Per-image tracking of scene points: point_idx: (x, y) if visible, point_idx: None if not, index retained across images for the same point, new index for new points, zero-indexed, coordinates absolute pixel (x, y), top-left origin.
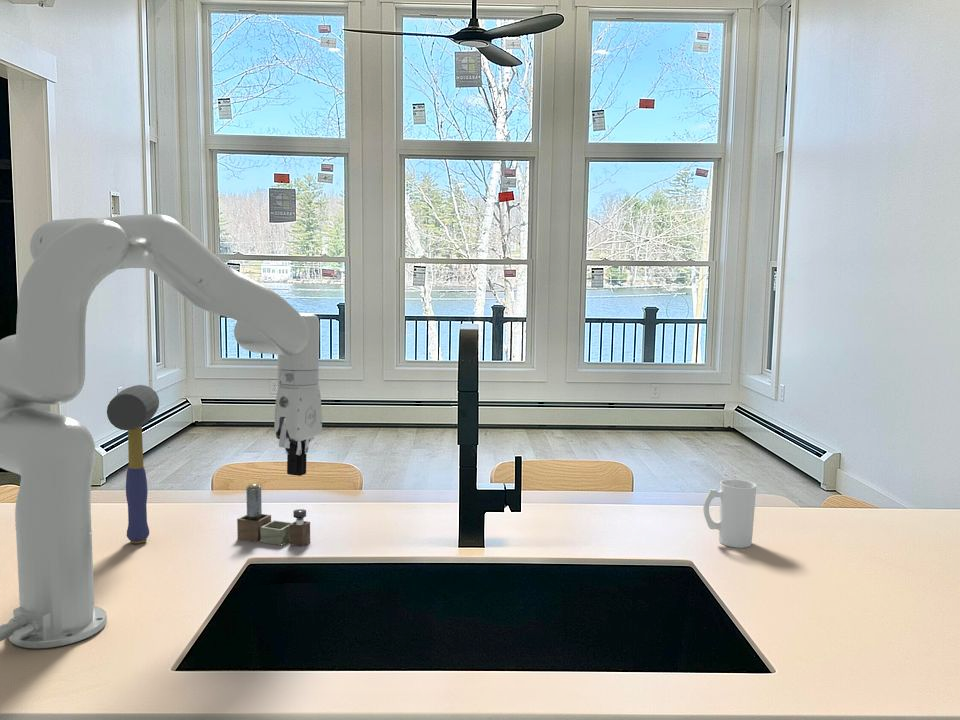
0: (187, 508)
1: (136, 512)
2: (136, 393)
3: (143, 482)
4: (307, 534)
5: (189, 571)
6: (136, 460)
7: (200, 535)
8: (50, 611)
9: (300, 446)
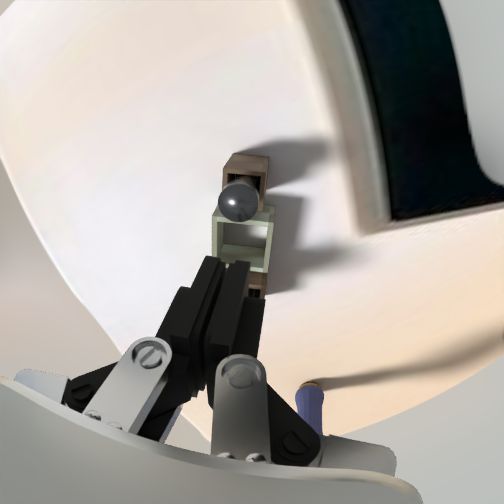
0: None
1: (320, 422)
2: None
3: None
4: (242, 160)
5: (422, 294)
6: None
7: (263, 346)
8: None
9: (227, 410)
